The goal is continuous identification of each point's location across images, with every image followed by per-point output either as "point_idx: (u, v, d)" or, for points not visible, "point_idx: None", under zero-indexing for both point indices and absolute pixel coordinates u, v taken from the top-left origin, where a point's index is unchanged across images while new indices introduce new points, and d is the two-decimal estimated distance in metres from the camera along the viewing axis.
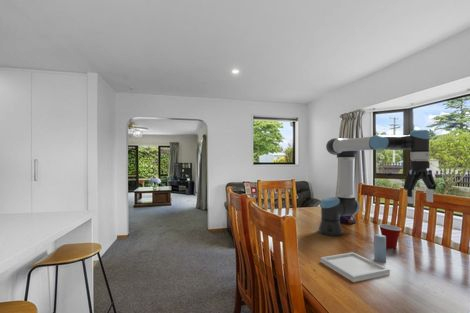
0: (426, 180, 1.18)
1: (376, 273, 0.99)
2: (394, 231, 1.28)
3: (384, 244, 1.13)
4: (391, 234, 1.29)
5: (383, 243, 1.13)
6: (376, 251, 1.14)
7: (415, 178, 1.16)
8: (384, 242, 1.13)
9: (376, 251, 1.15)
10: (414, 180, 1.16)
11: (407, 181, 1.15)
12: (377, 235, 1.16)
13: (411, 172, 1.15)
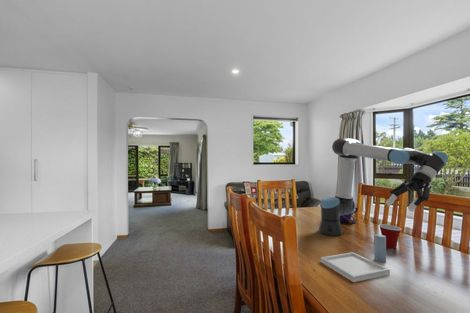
0: (406, 190, 1.22)
1: (376, 273, 0.99)
2: (394, 231, 1.28)
3: (384, 244, 1.13)
4: (391, 234, 1.29)
5: (383, 243, 1.13)
6: (376, 251, 1.14)
7: (421, 190, 1.14)
8: (384, 242, 1.13)
9: (376, 251, 1.15)
10: (421, 192, 1.13)
11: (427, 193, 1.10)
12: (377, 235, 1.16)
13: (430, 186, 1.12)
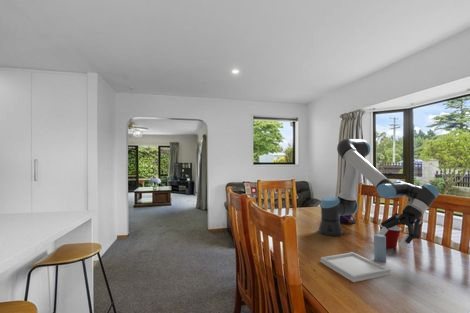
0: (397, 224, 1.20)
1: (376, 273, 0.99)
2: (394, 231, 1.28)
3: (384, 244, 1.13)
4: (391, 234, 1.29)
5: (383, 243, 1.13)
6: (376, 251, 1.14)
7: (412, 226, 1.12)
8: (384, 242, 1.13)
9: (376, 251, 1.15)
10: (412, 228, 1.11)
11: (418, 230, 1.07)
12: (377, 235, 1.16)
13: (421, 223, 1.10)
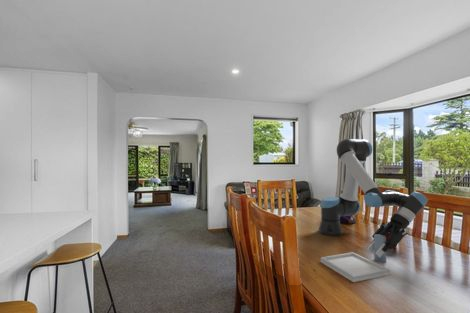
0: (387, 233, 1.18)
1: (376, 273, 0.99)
2: None
3: None
4: None
5: None
6: (376, 251, 1.14)
7: (395, 235, 1.14)
8: (384, 242, 1.13)
9: (376, 251, 1.15)
10: None
11: (397, 240, 1.10)
12: (377, 235, 1.16)
13: (404, 234, 1.10)
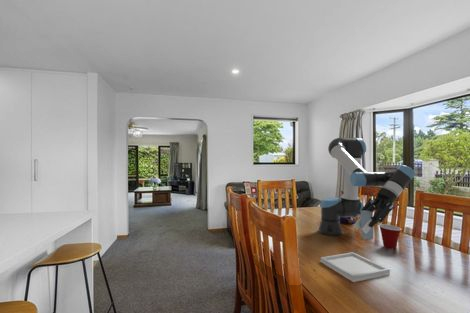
0: (373, 209, 1.12)
1: (376, 273, 0.99)
2: (394, 231, 1.28)
3: None
4: (391, 234, 1.29)
5: (369, 218, 1.07)
6: None
7: (382, 210, 1.07)
8: None
9: (362, 227, 1.08)
10: (381, 212, 1.07)
11: (383, 214, 1.04)
12: (364, 211, 1.10)
13: (392, 207, 1.04)
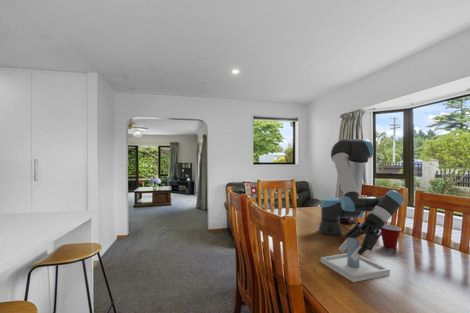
0: (360, 234, 1.11)
1: (376, 273, 0.99)
2: (394, 231, 1.28)
3: None
4: (391, 234, 1.29)
5: (356, 247, 1.05)
6: (349, 256, 1.06)
7: (370, 236, 1.05)
8: (357, 246, 1.05)
9: (348, 256, 1.07)
10: (369, 238, 1.04)
11: (372, 241, 1.01)
12: (350, 238, 1.08)
13: (379, 234, 1.02)
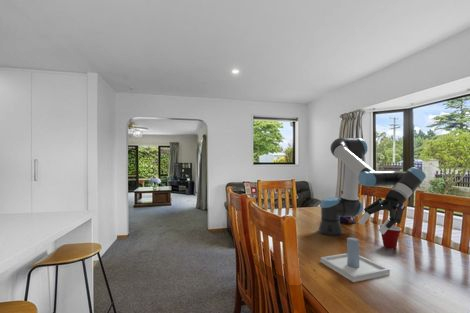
0: (380, 209, 1.14)
1: (376, 273, 0.99)
2: (394, 231, 1.28)
3: (357, 248, 1.05)
4: (391, 234, 1.29)
5: (356, 247, 1.05)
6: (349, 256, 1.06)
7: (394, 211, 1.06)
8: (357, 246, 1.05)
9: (348, 255, 1.07)
10: (394, 213, 1.05)
11: (399, 214, 1.01)
12: (350, 238, 1.08)
13: (403, 207, 1.04)
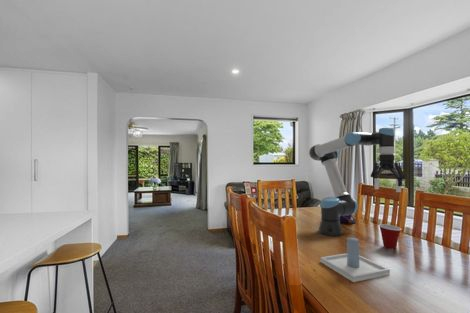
0: (382, 171, 1.40)
1: (376, 273, 0.99)
2: (394, 231, 1.28)
3: (357, 248, 1.05)
4: (391, 234, 1.29)
5: (355, 247, 1.05)
6: (349, 256, 1.06)
7: (394, 169, 1.33)
8: (357, 246, 1.05)
9: (348, 255, 1.07)
10: (395, 171, 1.32)
11: (401, 172, 1.28)
12: (350, 238, 1.08)
13: (399, 164, 1.30)
